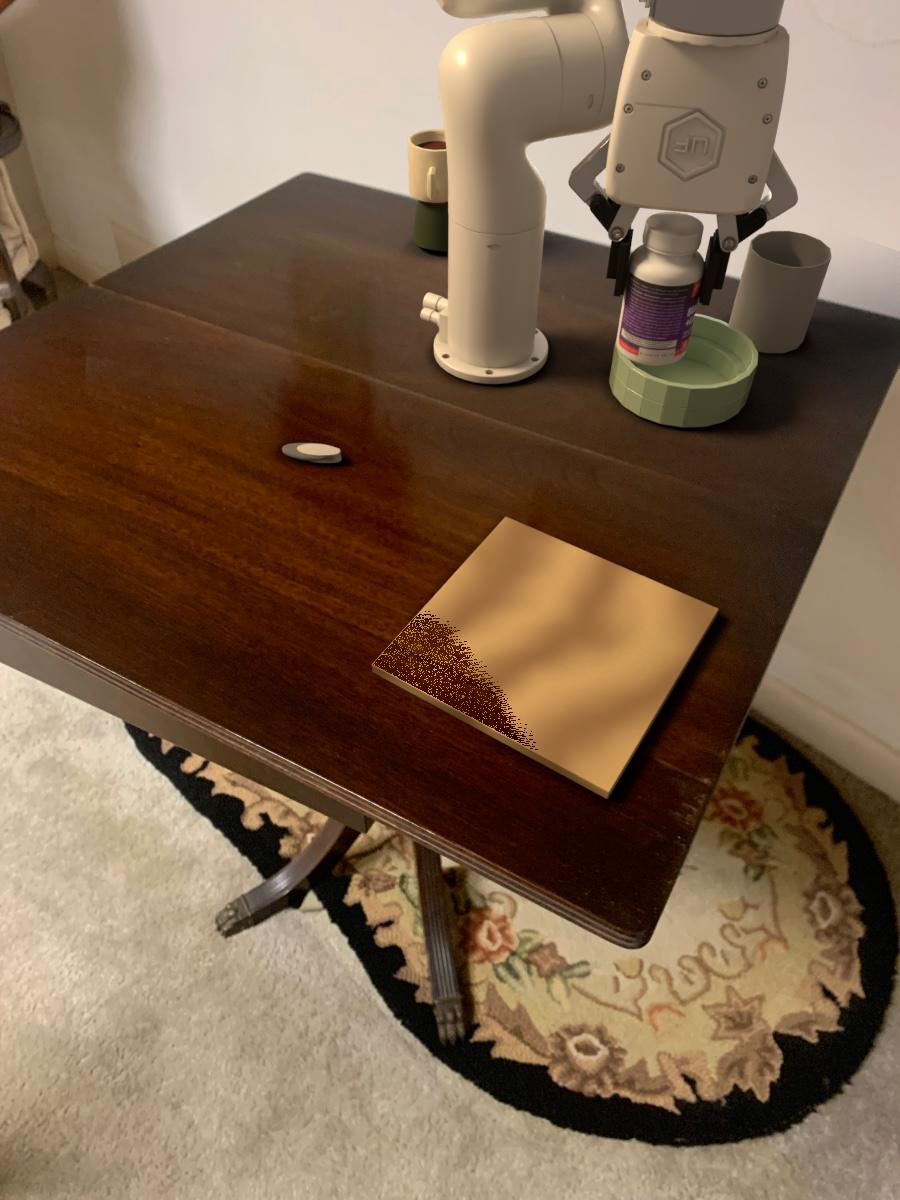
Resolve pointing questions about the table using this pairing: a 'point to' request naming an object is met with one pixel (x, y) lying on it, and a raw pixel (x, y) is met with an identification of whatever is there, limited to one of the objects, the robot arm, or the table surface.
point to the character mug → (429, 188)
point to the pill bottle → (662, 290)
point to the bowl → (691, 378)
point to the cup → (779, 289)
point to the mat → (564, 649)
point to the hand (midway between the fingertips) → (661, 289)
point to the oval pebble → (313, 452)
